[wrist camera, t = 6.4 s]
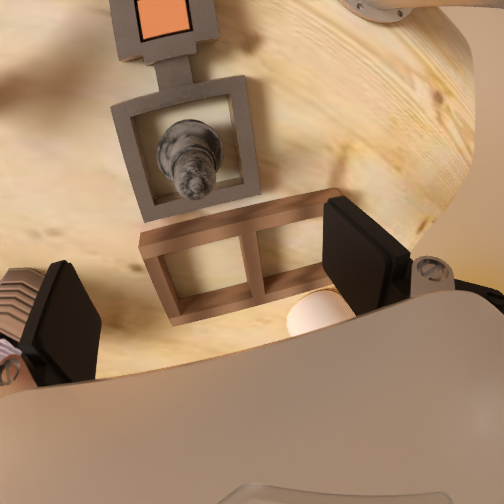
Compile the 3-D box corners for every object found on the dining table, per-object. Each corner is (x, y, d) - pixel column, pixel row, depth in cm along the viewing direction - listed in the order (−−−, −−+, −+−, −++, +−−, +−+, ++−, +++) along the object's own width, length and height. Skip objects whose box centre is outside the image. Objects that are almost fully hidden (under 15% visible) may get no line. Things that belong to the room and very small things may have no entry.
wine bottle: (279, 302, 42) (370, 508, 18) (339, 278, 42) (455, 459, 18) (290, 340, 48) (363, 509, 24) (342, 318, 48) (431, 473, 24)
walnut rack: (334, 187, 34) (346, 198, 32) (333, 267, 41) (342, 280, 39) (140, 233, 31) (138, 247, 29) (171, 310, 38) (172, 326, 36)
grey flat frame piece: (223, -27, 18) (229, -37, 16) (256, 187, 32) (263, 198, 29) (95, 2, 17) (87, -5, 14) (145, 214, 30) (143, 227, 28)
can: (78, 329, 37) (66, 401, 27) (16, 328, 34) (-4, 393, 24) (54, 263, 30) (25, 338, 21) (-13, 267, 28) (-49, 333, 18)
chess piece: (150, 163, 28) (137, 218, 18) (171, 108, 25) (168, 129, 15) (204, 181, 30) (222, 242, 20) (228, 128, 28) (260, 163, 18)
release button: (182, -2, 19) (183, -10, 17) (188, 33, 21) (189, 28, 19) (140, 7, 18) (137, 1, 16) (146, 42, 21) (143, 39, 18)
